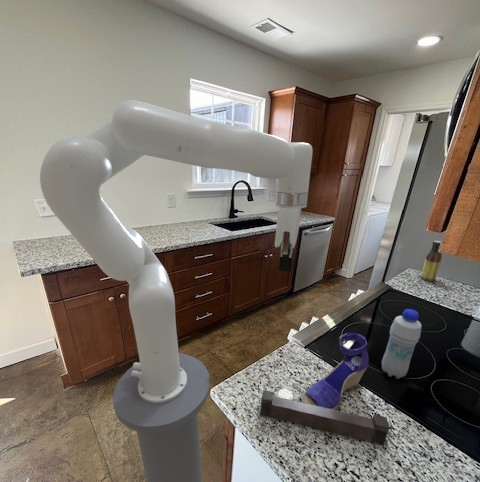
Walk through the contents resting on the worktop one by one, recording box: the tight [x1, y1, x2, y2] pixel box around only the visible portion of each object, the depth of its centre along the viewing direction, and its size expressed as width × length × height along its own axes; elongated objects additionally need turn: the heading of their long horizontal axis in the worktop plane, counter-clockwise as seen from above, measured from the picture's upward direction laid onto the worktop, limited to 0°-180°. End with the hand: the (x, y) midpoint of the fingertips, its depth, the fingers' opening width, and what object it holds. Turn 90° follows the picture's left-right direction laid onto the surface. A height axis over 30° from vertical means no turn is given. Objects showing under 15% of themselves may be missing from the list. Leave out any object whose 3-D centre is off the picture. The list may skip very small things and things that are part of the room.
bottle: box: [381, 308, 423, 380], centre depth 70 cm, size 7×7×20 cm
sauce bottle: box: [420, 240, 443, 283], centre depth 129 cm, size 7×6×20 cm
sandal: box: [301, 332, 370, 411], centre depth 63 cm, size 8×20×15 cm, turn 114°
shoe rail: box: [260, 389, 390, 446], centre depth 58 cm, size 26×2×5 cm, turn 75°
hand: (285, 269), depth 71 cm, fingers closed
